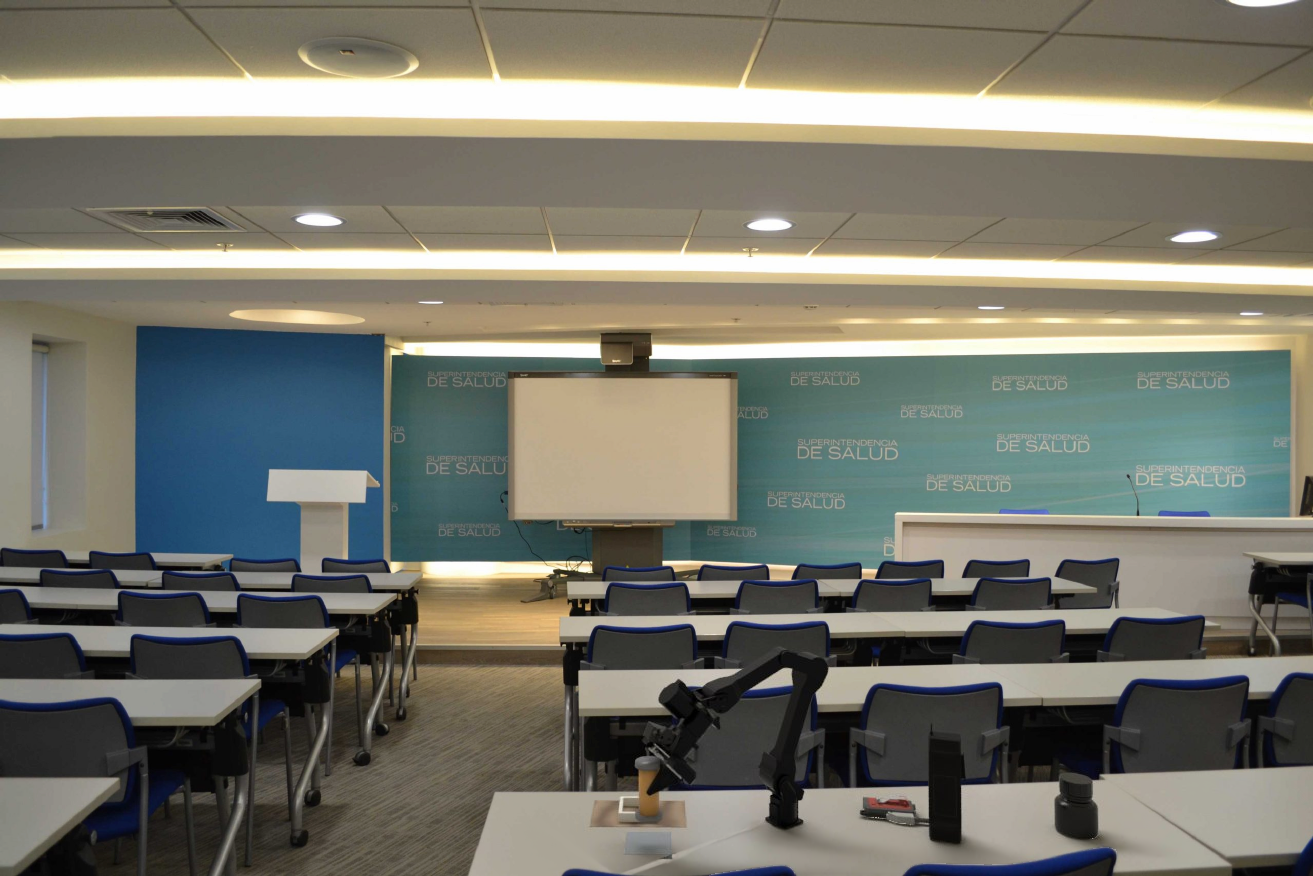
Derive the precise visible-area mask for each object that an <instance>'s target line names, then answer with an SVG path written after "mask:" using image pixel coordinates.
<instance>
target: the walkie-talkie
mask: <svg viewBox="0 0 1313 876" xmlns="http://www.w3.org/2000/svg"><path fill="white" fill-rule="evenodd" d="M863 809H864V810H863ZM916 814H917V809H916V804H915V803H913V802H912V800H910V799H908V798H907V797H906V796H904V795H903V796H902V795H894V794H893V795H892V794H891V795H890V794H889V795H887V796H885V797H884V798H883V797H882V798H881V797H880V795H876V796H875V797H872V796H871V797H868V796H867V797H865V796H863V797H862V810H859V815H860V816H862V817H863V816H864V817H865V816H866V817H874V818H875V817H877V818H878V817H879V818H886V819H885V820H887V821H888V820H891V821H894V822H897V823H906V824H911V825H914V826H915V824H929V817H928V818H926V817H920V816H917V815H916ZM866 817H865V818H866ZM874 818H873V819H874ZM911 825H910V826H911Z"/></svg>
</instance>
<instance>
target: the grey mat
mask: <svg viewBox="0 0 1313 876" xmlns="http://www.w3.org/2000/svg"><path fill="white" fill-rule="evenodd" d="M625 833H626V834H625V846H624V855H667V856H664V857H661V858H659V859H660V860H672V859H673V849H672V848H673V847H672V846H673V845H672V832H671V831H669V832H668V831H663V832H662V831H626V832H625Z"/></svg>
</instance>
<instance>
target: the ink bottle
mask: <svg viewBox="0 0 1313 876" xmlns="http://www.w3.org/2000/svg"><path fill="white" fill-rule="evenodd" d="M1093 782H1094V781H1093V779H1092V778H1090V777H1089V776H1087V775H1084V774H1080V773H1076V772H1075V773H1074V772H1062V773H1060V774H1058V789H1059V794H1057V795H1056V796H1055V797H1054V802H1053V804H1054V805H1053V806H1054V827H1055V829H1056V830H1057V831H1058V832H1059V833H1060V834H1062V835H1064V836H1067V837H1070V838H1073V839H1074V838H1075V839H1079V840H1093V839H1092V838H1094V839H1096V838H1097V837H1098V836H1099V807H1098V804H1097V803H1096V802H1095V801H1094V800H1093V795H1094V790H1093V788H1094V786H1093V785H1094V783H1093ZM1097 835H1098V836H1097ZM1096 836H1097V837H1096ZM1095 837H1096V838H1095Z"/></svg>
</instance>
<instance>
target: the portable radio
mask: <svg viewBox="0 0 1313 876" xmlns="http://www.w3.org/2000/svg"><path fill="white" fill-rule="evenodd" d="M929 725H930V730H928V733H927V750H928V751H927V753H928V755H927V759H928V760H927V761H928V762H927V765H928V767H927V769H928V771H927V772H928V774H927V776H928V777H927V778H928V781H927V783H928V784H927V785H928V788H927V789H928V792H927V793H928V795H927V796H928V818H929V823H928V837H929V839H930V840H931V841H936V842H941V843H942V842H943V843H950V844H956V845H959V844H961V843H962V835H963V834H962V832H963V831H962V828H963V827H962V822H963V821H962V817H963V815H962V814H963V813H962V811H963V810H962V780H964V782H966V781H967V779H966V764H965V753H964V752H962V738H961V734H959V733H954V732H943V731H936V730H935V731H934V730H933V726H934V724H933V723H929Z"/></svg>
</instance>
